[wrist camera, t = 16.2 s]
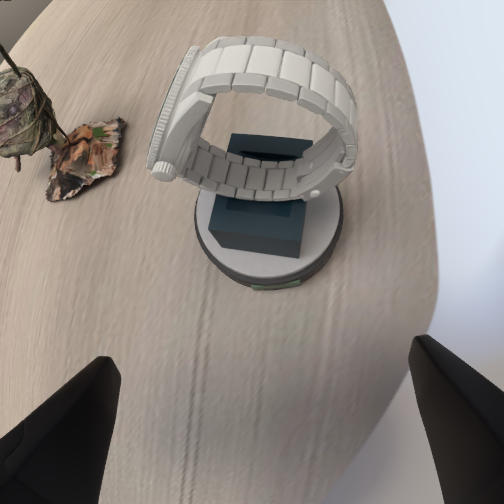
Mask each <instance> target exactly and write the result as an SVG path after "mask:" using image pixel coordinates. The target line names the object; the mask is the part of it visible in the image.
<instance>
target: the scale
mask: <svg viewBox="0 0 504 504" xmlns="http://www.w3.org/2000/svg"><path fill="white" fill-rule="evenodd" d="M217 186H218V185H217ZM216 190H217V189H216ZM215 197H216V192H215V193H213V192H210V191H207V190H204V189H201V190H200V192H199V195H198V198H197V201H196V206H195V214H194V221H195V230H196V234H197V237H198V240H199V243H200V245H201V247H202V249H203V250H204V252H205V254H206V255H207V256H208V258H209V259H210V260H211V261H212V262H213V263H214V264H215V265H216V266H217V267H218V268H219V269H220V270H221V271H222V272H223V273H224V274H225V275H227V276H228V277H229V278H231V279H232V280H234V281H236V282H238V283H240V284H242V285H245V286H248V287H251V288H252V289H253V290H277V289H283V288H288V287H292V286H299V285H300V283H301V282H303V281H305V280H307V279H308V278H310V277H311V276H313V275H314V274H315V273H316V272H318V271H319V270H320V269H321V268H322V267H323V266H324V264H325V263H326V262H327V261H328V259H329V258H330V256H331V254H332V252H333V250H334V248H335V246H336V244H337V241H338V239H339V236H340V233H341V229H342V224H343V203H342V198H341V195H340V191H339V189H338V187H337V185H336V186H335V187H333V188H332V189H330V190H328V191H327V192H325V193H323V194H321V195H320V196H318V197H315V198H312V199H310V200H307V206H306V213H305V221H304V228H303V235H302V242H301V249H300V255H299V259H296V258H289V257H282V256H276V255H269V254H262V253H255V252H248V251H241V250H234V249H227V248H222V247H221V246H220V245H219V243H218V242H217V241H216V239H215V238H214V237H213V235H212V234H211V233H210V231H209V230H208V226H209V222H210V217H211V213H212V209H213V205H214V201H215Z"/></svg>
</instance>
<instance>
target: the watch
mask: <svg viewBox="0 0 504 504" xmlns="http://www.w3.org/2000/svg"><path fill="white" fill-rule="evenodd" d="M275 45H276V48H275ZM282 57H283V60H282ZM281 60H282V64H281ZM280 65H281V69H280ZM279 69H280V74H279ZM278 74H279V78H278ZM266 83H267V86H266ZM265 86H266V91H265ZM232 88H233V90H234V91H235V92H244V93H258V94H260V93H263V92H264V91H265V92H266V94H267V95H269V96H273V97H277V98H281V99H284V100H287V101H295V100H296V99H297V104H298V105H300V106H302V107H304V108H306V109H308V110H310V111H312V112H314V113H315V114H322V117H323V118H324V119H325V120H326V121H328V122H329V123H330V124H331V125H332V126H333V127H332V128H331V129H330V131H329V132H328V133H327V134H326V135H325V136H324V137H323V138H322V139H321V140H319V141H318V142H317V143H316V144H314V145H313V141H312V140H304V139H295V138H285V137H274V136H263V135H249V134H234V133H232V134H231V138H230V142H229V145H228V149H227V153H226V152H225V151H224V150H222V149H220V148H218V147H216V146H214V145H211V146H210V143H208V142H207V141H205V140H204V139H203V138H201V137H200V135H201V133H202V130H203V128H204V125H205V123H206V120H207V118H208V115H209V113H210V110H211V107H212V105H213V102H214V100H215V97H216V94H217V93H225V92H230V91H231V89H232ZM357 146H358V134H357V105H356V102H355V97H354V94H353V92H352V90H351V88H350V86H349V85H348V84H347V83H346V80H345V79H344V78H343V76H342V75H341V74H340V73H339V72H338V71H337V70H336V69H335V68H334V67H333V66H331V65H329V63H328V62H327V61H325V60H324V59H323V58H321V57H320V56H318V55H317V54H315V53H313V52H311V51H309V50H306V51H305V49H304V48H303V47H300V46H298V45H296V44H293V43H290V42H287V41H283V40H277V44H276V39H273V38H268V37H259V36H249V37H248V39H247V38H246V37H244V36H240V37H226V36H220V37H218V38H217V39H215V40H213V41H212V42H211V43H209V44H208V45H207V46H206V47H205V48H204V49H203V50H199V47H198V46H195V45H193V46H192V47H191V48H190V49H189V50H188V52H187V53H186V55H185V56H184V58H183V60H182V61H181V63H180V65H179V66H178V68H177V71H176V73H175V75H174V77H173V80H172V82H171V84H170V86H169V89H168V91H167V94H166V96H165V99H164V101H163V104H162V107H161V109H160V112H159V115H158V118H157V121H156V124H155V127H154V130H153V134H152V137H151V141H150V145H149V149H148V155H147V161H146V168H148V169H151V170H152V176H153V177H154V178H156V179H157V180H160V181H164V182H171V181H173V179H175V178H176V176H177V177H179V178H181V179H182V180H184V181H186V182H188V183H190V184H192V185H195V186H198V187H199V188H201V189H204V190H207V191H210V192H213V193H215V192H216V197H215V201H214V205H213V209H212V213H211V217H210V222H209V226H208V230H209V231H210V233H211V234H212V235H213V237H214V238H215V239H216V241H217V242H218V243H219V245H220V246H221V247H222V248H227V249H234V250H241V251H248V252H255V253H262V254H269V255H276V256H282V257H289V258H296V259H299V255H300V249H301V242H302V235H303V228H304V221H305V213H306V206H307V200H310V199H312V198H315V197H318V196H320V195H321V194H323V193H325V192H327V191H328V190H330V189H332V188H333V187H335V186H336V185H338V184H339V183H340V182H341V181H343V180H344V179H345V178H346V177H347V176H348V175H349V174H350V173H351V172H352V171H353V170H354V169H355V163H356V157H357ZM225 154H226V155H225ZM224 158H225V159H224ZM217 185H218V186H217ZM216 189H217V190H216Z"/></svg>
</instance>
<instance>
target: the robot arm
mask: <svg viewBox="0 0 504 504" xmlns="http://www.w3.org/2000/svg"><path fill="white" fill-rule="evenodd" d="M408 362H409V367H410V371H411V376H412V380H413V385H414V389H415V394H416V399H417V404H418V408H419V411H420V414H421V418H422V421H423V424H424V427H425V430H426V434H427V437H428V441H429V444H430V447H431V451H432V455H433V459H434V462H435V466H436V470H437V474H438V478H439V482H440V486H441V490H442V495H443V499H444V503H445V504H504V392H503V391H502V390H501V389H499V388H498V387H497V386H495V385H494V384H493V383H492V382H490V381H489V380H487V379H486V378H485V377H484V376H483V375H481V374H480V373H479V372H477V371H476V370H475V369H473V368H472V367H471V366H469V365H468V364H467V363H465V362H464V361H463V360H461V359H460V358H459V357H457V356H456V355H455V354H454V353H452V352H451V351H450V350H448V349H447V348H445V347H444V346H443V345H441V344H440V343H439V342H437V341H436V340H435V339H433V338H432V337H431V336H429V335H427V334H425V335H419V336H415V337H414V339H413V342H412V345H411V349H410V352H409V357H408ZM120 386H121V375H120V372H119V371H118V369H117V367H116V365H115V363H114V361H113V360H112V358H111V357H109V356H98V357H97V358H95V359H94V360H93V361H92V362H91V363H89V364H88V365H87V366H86V367H85V368H84V369H82V370H81V371H80V372H79V373H78V374H76V375H75V376H74V377H73V378H72V379H71V380H69V381H68V382H67V383H66V384H65V385H63V386H62V387H61V388H60V389H59V390H58V391H56V392H55V393H54V394H53V395H52V396H51V397H49V398H48V399H47V400H46V401H45V402H44V403H42V404H41V405H40V406H39V407H38V408H37V409H35V410H34V411H33V412H32V413H31V414H30V415H28V416H27V417H26V418H25V419H24V420H23V421H21V422H20V423H19V424H18V425H17V426H16V427H14V428H13V429H12V430H11V431H10V432H8V433H7V434H6V435H5V436H3V437H2V438H1V439H0V504H98V501H99V495H100V490H101V485H102V479H103V474H104V470H105V465H106V460H107V456H108V451H109V447H110V442H111V438H112V434H113V429H114V425H115V420H116V414H117V406H118V399H119V392H120Z"/></svg>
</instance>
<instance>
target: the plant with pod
mask: <svg viewBox="0 0 504 504" xmlns="http://www.w3.org/2000/svg"><path fill="white" fill-rule="evenodd" d="M0 1H2V0H0ZM4 1H11V0H4ZM0 52H1V54H2V55H3V57H4V58H5V60H6V61H7V63H8V64H9V65H10V66H11V67H12V68H8V69H5V70H3V71H1V72H0V156H2V157H4V158H10V157H11V156H14V158H15V159H16V163H15V170H16V171H17V172H19V171H20V170H21V163H20V155H25V154H28V155H29V156H32V155H33V154H34V153H35V152H36V151H38V150H40V149H43V148H44V147H47V148H49V149H50V150H52V155H51V156H49V157H52V158H51V160H52V161H51V164H52V165H51V170H50V176H49V181H48V182H50V183H49V184H47V185H49V186H48V189H47V190H46V192H47V193H46V196H47V198H46V199H47V201H50V202H51V201H53V200H54V201H55V199H56V200H58V199H59V200H60V199H62V198H63V199H64V200H65V199H66V198H67V197H72V195H74V196H75V193H77V192H78V191H79V190H81V189H82V186H83V184H84V185H90V184H91V183H92V182H93V180H94V179H95V178H100V177H101V175H102V176H103V177H104V176H106V175H111V174H112V173H113V171H114V170H115V168H116V166H117V165H112V164H113V163H115V162H116V161H117V160H118V159H117V157H116V156H115V155H116V153H117V152H118V150H119V149H120V148H117V149H113V148H115V147H117V146H118V145H117V144H115V143H119V141H118V138H120V137H122V136H121V135H120V134H121V133H122V132H120V130H122V129H121V128H124V127H123V126H124V125H125V123H126V122H125V121H124V119H122V118H121V119H120V118H118V119H115V120H111V121H110V122H106V123H105V122H97V123H96V122H94V123H93V124H92V122H90V123H89V125H87V124H83V125H82V126H81V127H79V128H78V129H76V128H75V130H74V131H73V132H72V133H71V134H69V135H66V134H65V133H64V132H63V130H62V129H61V128H60V127H59V125H58V123H57V121H56V118H55V112H54V109H52V101H51V100H50V98H48V97H47V95H46V93H45V92H44V91H43V89H42V87H41V86H40V84H39V83H38V81H37V80H36V79H35V77H34V75H33V74H32V73H31V72H30V71H29V70H28V69H26V68H22V67H17V66H16V64H15V63H14V62H13V61H12V59H11V58H10V56H9V55H8V53H7V52H6V51H5V49H4V47H3V46H2V45H1V44H0ZM61 133H62V134H63V135H64V136H65V138H63V136H62V134H61Z"/></svg>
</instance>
